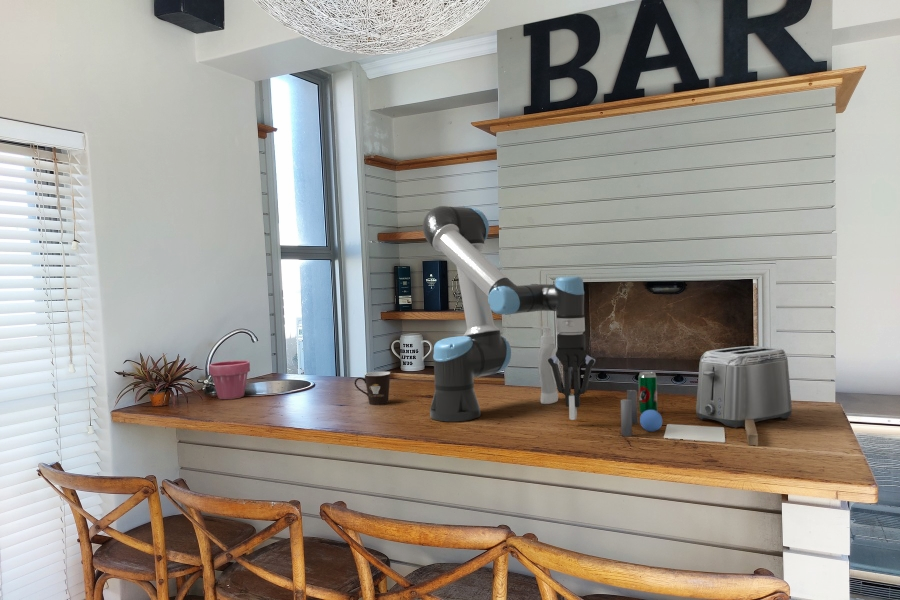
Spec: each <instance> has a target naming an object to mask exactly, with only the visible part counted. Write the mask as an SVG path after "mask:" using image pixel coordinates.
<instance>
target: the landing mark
mask: <svg viewBox="0 0 900 600" xmlns="http://www.w3.org/2000/svg"><path fill="white" fill-rule="evenodd" d="M725 435H726V434H725V427H723V426H706V425H705V426H704V425H702V426H701V425H690V424H689V425H688V424H687V425H686V424H673V423H667V424H666V428H665V432H664V435H663V439H665V438H668V439H670V440H680V439H683V440H682V441H684V440H685V441H694V440H695V442H696V441H697V442H700V441H701V442H710V443H723V444H724V443H726V438H725V437H726V436H725Z"/></svg>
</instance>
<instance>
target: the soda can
mask: <svg viewBox="0 0 900 600" xmlns="http://www.w3.org/2000/svg"><path fill="white" fill-rule="evenodd" d="M637 378H638V408H639V409H638V412H639V413H640V415H642V413H643V412H644V411H646V410H655V411H657V412H658V385H657V383H658V380H657V378H658V376H657V375H656V372H655V371H640V372H639V375H638V377H637Z"/></svg>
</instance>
